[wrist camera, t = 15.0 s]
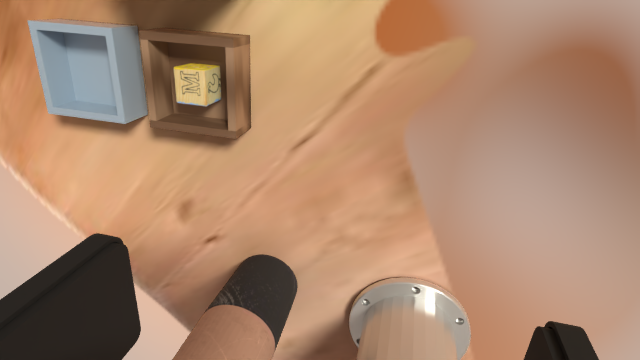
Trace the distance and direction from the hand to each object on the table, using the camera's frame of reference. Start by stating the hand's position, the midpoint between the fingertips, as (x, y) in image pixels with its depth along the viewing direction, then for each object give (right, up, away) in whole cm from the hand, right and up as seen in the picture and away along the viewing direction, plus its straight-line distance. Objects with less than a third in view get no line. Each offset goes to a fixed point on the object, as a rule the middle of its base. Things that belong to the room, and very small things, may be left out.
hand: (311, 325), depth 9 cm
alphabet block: (-10, +13, +28) cm, 33 cm away
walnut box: (-10, +13, +29) cm, 33 cm away
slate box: (-21, +14, +31) cm, 40 cm away
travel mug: (-6, -8, +37) cm, 38 cm away
